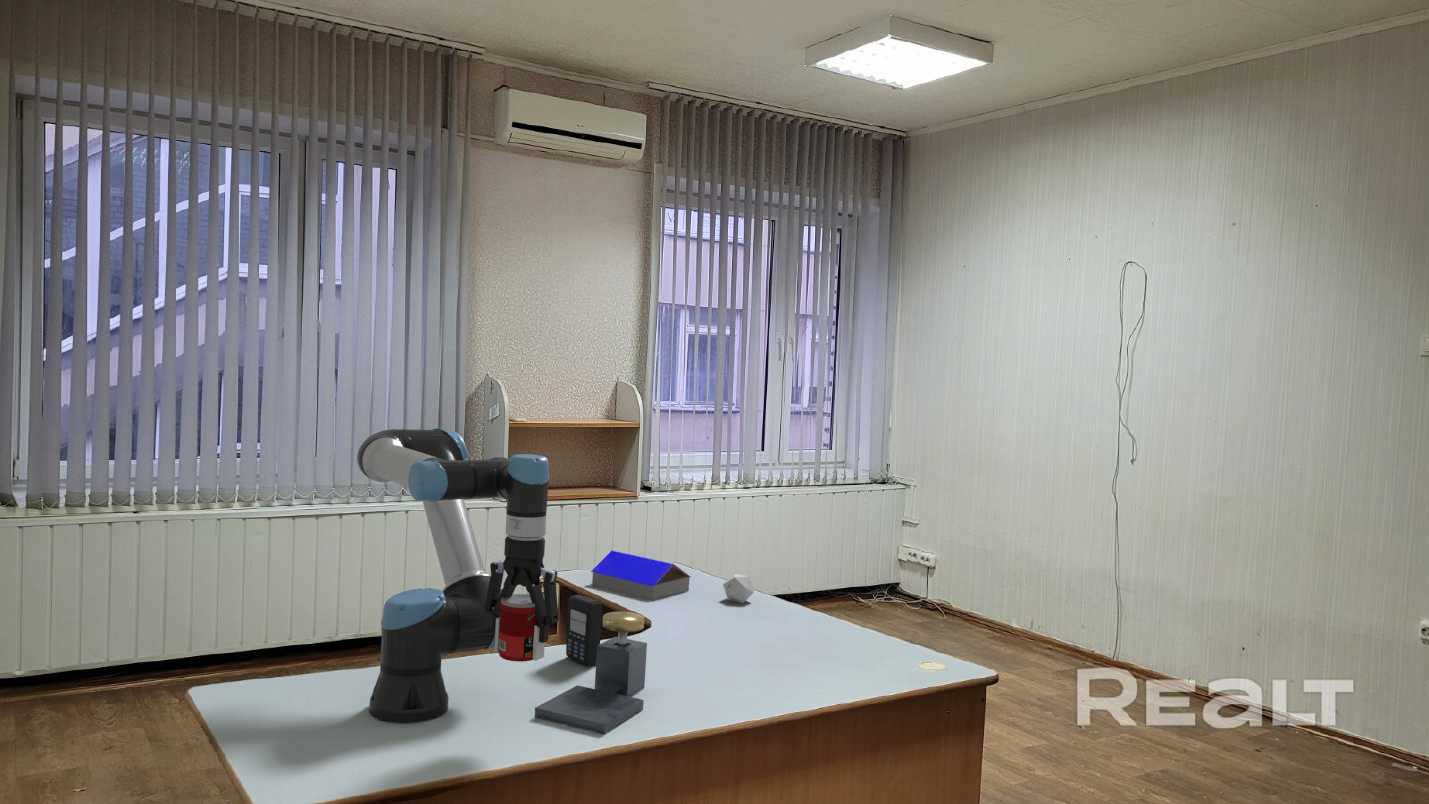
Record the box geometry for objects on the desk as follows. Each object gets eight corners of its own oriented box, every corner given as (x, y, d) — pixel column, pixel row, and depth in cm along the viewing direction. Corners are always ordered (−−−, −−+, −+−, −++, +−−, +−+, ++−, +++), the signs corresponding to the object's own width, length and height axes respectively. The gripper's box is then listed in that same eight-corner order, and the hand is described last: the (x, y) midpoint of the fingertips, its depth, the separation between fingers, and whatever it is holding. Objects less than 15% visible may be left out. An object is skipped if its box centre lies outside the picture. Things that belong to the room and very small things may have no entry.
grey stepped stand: (534, 717, 203) (537, 668, 203) (604, 679, 229) (607, 635, 228) (604, 734, 197) (607, 683, 196) (668, 692, 223) (671, 647, 222)
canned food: (531, 664, 190) (534, 606, 190) (491, 659, 192) (493, 601, 191) (545, 652, 198) (548, 596, 197) (507, 647, 199) (510, 592, 199)
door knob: (592, 663, 220) (595, 618, 220) (613, 653, 229) (615, 609, 228) (629, 671, 217) (632, 625, 216) (649, 660, 225) (651, 615, 224)
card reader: (562, 657, 243) (566, 595, 242) (576, 654, 245) (579, 593, 245) (586, 667, 236) (589, 603, 235) (600, 664, 239) (603, 601, 238)
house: (629, 577, 331) (630, 546, 330) (690, 591, 316) (692, 559, 316) (590, 586, 316) (591, 554, 315) (652, 601, 301) (654, 568, 301)
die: (724, 598, 312) (716, 576, 306) (748, 584, 314) (740, 562, 308) (736, 614, 305) (728, 592, 300) (760, 599, 307) (753, 578, 302)
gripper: (468, 532, 194) (462, 649, 196) (561, 547, 186) (554, 669, 187) (491, 526, 201) (486, 640, 203) (582, 540, 193) (576, 659, 194)
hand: (519, 654), depth 195 cm, fingers closed on canned food, 8 cm apart
